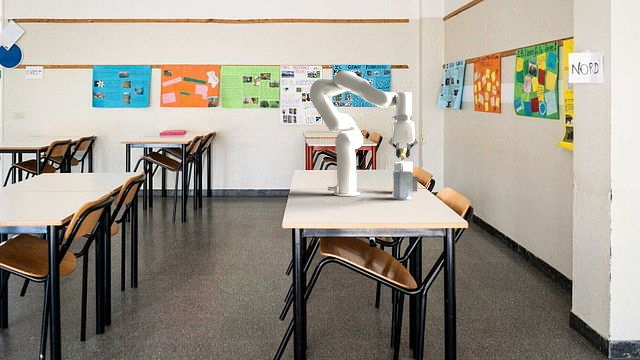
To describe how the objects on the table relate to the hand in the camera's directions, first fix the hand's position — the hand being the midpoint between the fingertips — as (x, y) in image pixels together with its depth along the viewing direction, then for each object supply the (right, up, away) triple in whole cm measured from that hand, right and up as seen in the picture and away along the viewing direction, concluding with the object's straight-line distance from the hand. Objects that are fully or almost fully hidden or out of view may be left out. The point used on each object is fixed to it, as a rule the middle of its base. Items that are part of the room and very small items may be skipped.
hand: (402, 157), depth 297 cm
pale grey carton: (+1, -20, +2) cm, 20 cm away
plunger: (0, -12, +1) cm, 12 cm away
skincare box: (+3, -17, +22) cm, 28 cm away
